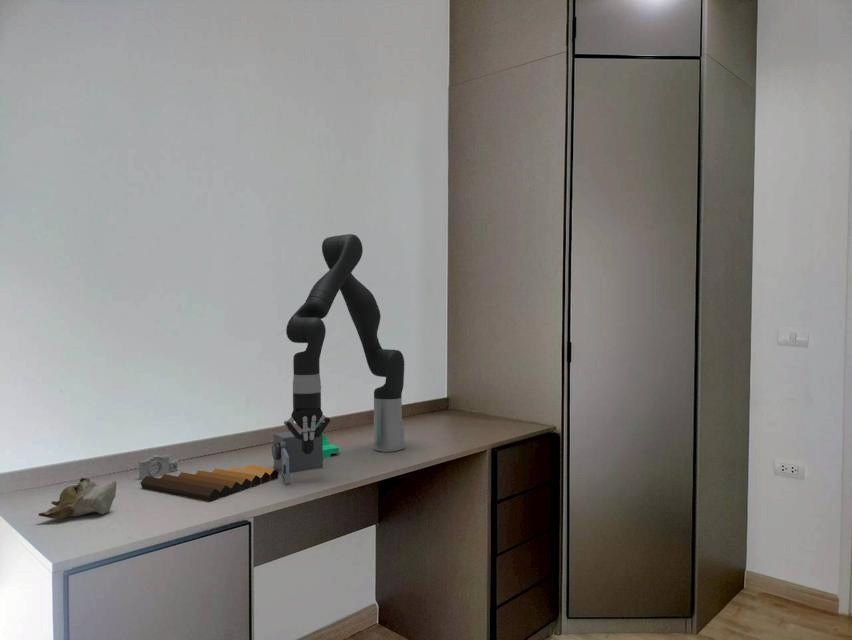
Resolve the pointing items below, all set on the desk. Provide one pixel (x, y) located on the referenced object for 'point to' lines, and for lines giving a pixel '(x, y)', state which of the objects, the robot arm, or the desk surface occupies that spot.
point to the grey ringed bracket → (161, 462)
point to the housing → (297, 452)
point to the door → (285, 464)
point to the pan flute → (211, 482)
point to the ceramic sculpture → (83, 499)
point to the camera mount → (328, 447)
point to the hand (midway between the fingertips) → (307, 453)
